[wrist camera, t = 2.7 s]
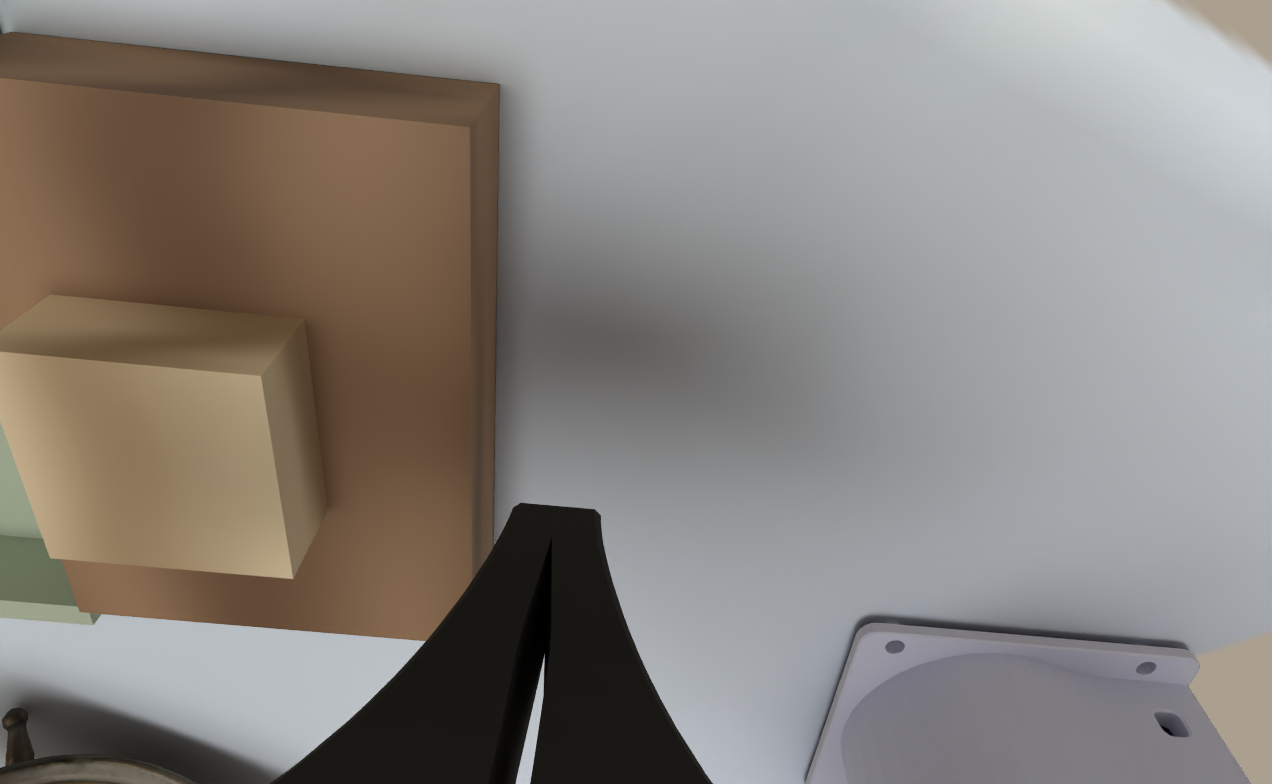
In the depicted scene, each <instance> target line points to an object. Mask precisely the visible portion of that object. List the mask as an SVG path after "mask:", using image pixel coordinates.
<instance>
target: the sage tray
mask: <svg viewBox="0 0 1272 784" xmlns="http://www.w3.org/2000/svg"><path fill="white" fill-rule="evenodd" d="M0 35H1V33H0ZM100 615H101V614H96V613H84V612H79V609H78V606H77V603H76V600H75V598H74V595H73V592H72V589H71V586H70V584H69V581H68V578H67V575H66V572H65V569H64V567H63V564H62V561H61V559H53V558H50V557H49V554H48V551H47V548H46V546H45V543H44V540H43V537H42V535H41V532H40V529H39V526H38V524H37V521H36V518H35V515H34V513H33V510H32V507H31V504H30V502H29V499H28V496H27V493H26V490H25V488H24V485H23V482H22V479H21V477H20V474H19V471H18V468H17V466H16V463H15V460H14V457H13V455H12V452H11V449H10V446H9V444H8V441H7V438H6V435H5V433H4V430H3V427H2V424H1V422H0V617H2V618H14V619H26V620H38V621H50V622H62V623H74V624H86V625H94V624H95V622H96V621H97V620H98V618H99V617H100Z"/></svg>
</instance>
